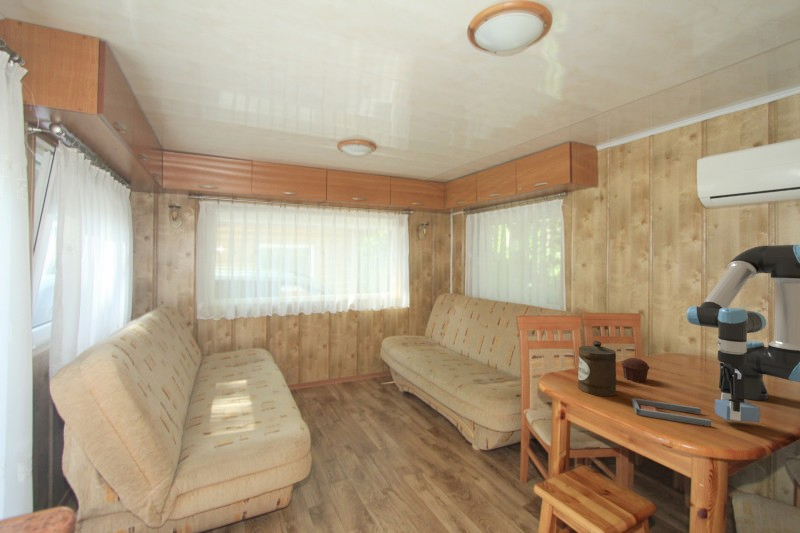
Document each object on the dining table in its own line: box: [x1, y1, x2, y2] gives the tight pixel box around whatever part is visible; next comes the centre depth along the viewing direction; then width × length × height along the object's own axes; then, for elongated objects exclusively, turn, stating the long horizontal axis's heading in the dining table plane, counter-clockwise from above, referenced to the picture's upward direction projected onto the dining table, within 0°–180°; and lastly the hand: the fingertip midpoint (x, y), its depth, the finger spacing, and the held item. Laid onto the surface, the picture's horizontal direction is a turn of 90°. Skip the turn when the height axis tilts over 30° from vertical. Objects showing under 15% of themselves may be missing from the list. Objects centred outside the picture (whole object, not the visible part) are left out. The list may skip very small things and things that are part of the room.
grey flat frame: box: [631, 397, 712, 427], centre depth 136 cm, size 22×12×2 cm, turn 65°
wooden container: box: [577, 340, 617, 397], centre depth 160 cm, size 15×15×22 cm
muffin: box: [621, 357, 650, 383], centre depth 175 cm, size 12×11×10 cm
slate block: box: [714, 398, 761, 423], centre depth 128 cm, size 10×6×5 cm, turn 80°
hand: (730, 415), depth 128 cm, fingers closed on slate block, 7 cm apart
